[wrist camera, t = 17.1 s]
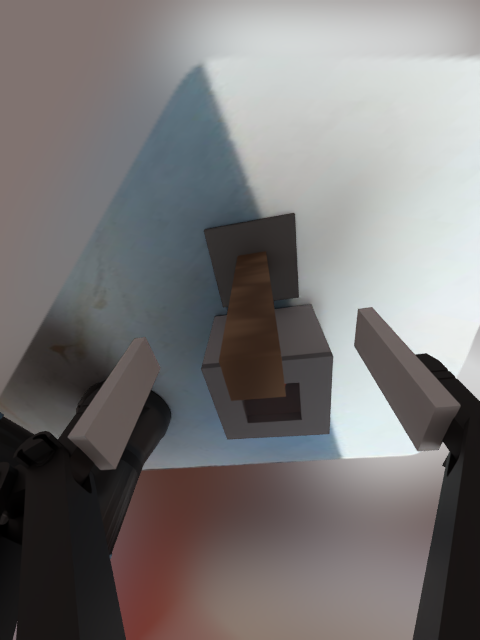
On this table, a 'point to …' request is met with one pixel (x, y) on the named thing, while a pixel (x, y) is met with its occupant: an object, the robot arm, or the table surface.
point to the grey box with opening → (299, 376)
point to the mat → (254, 238)
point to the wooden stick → (252, 334)
